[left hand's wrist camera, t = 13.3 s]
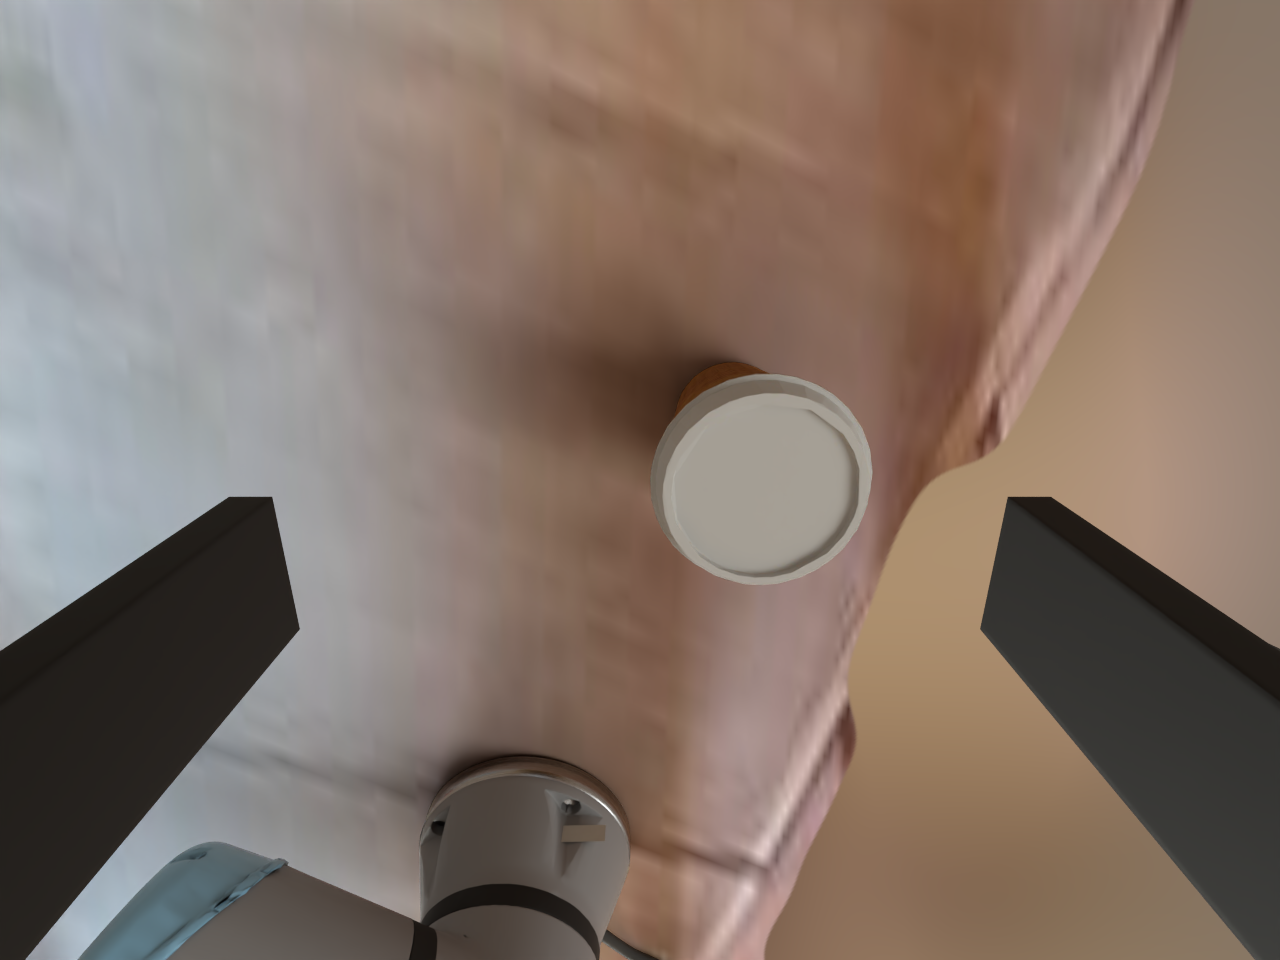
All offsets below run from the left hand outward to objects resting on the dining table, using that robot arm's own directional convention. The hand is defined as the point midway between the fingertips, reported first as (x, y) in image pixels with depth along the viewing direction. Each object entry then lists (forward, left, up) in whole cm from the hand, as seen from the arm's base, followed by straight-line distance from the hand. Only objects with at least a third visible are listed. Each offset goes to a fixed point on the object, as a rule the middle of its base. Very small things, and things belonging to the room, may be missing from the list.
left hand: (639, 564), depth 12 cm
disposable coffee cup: (-6, -4, -27) cm, 28 cm away
